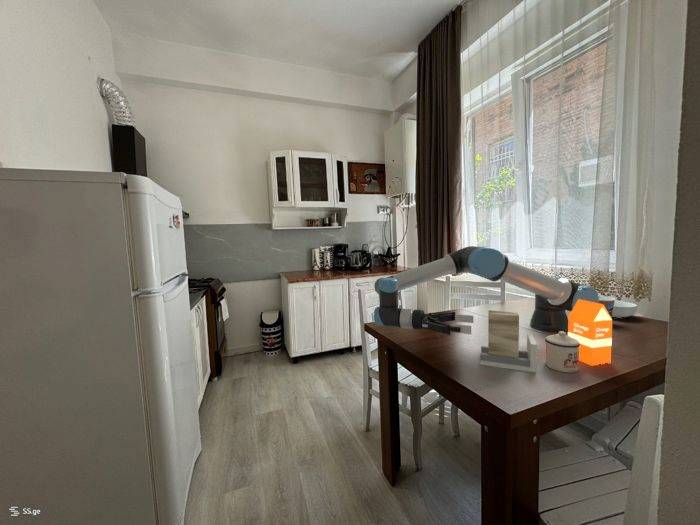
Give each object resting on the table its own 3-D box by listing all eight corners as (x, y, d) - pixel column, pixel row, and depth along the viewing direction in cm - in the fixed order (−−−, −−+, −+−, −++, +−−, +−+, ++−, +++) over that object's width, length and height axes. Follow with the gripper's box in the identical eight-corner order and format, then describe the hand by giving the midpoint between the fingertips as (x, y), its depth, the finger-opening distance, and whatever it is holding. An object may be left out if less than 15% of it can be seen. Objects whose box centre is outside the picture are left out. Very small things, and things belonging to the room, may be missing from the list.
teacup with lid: (568, 376, 88) (569, 338, 87) (538, 364, 97) (539, 330, 96) (590, 367, 94) (591, 332, 93) (559, 357, 102) (560, 324, 101)
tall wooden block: (488, 354, 104) (488, 310, 103) (517, 357, 100) (517, 312, 99) (488, 359, 100) (488, 313, 99) (518, 363, 96) (519, 315, 95)
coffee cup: (607, 327, 131) (608, 301, 130) (581, 321, 141) (582, 297, 140) (619, 323, 136) (620, 298, 135) (593, 318, 145) (594, 294, 144)
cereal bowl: (646, 320, 138) (647, 306, 138) (610, 321, 139) (611, 307, 138) (615, 311, 155) (615, 298, 155) (583, 312, 156) (583, 299, 155)
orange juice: (591, 365, 95) (593, 305, 93) (566, 355, 103) (568, 299, 102) (611, 363, 96) (613, 303, 94) (585, 352, 105) (587, 298, 103)
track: (480, 364, 98) (480, 338, 98) (481, 352, 108) (481, 328, 107) (536, 372, 91) (536, 344, 91) (531, 359, 101) (532, 333, 100)
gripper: (420, 320, 124) (474, 324, 115) (404, 339, 102) (470, 346, 93) (419, 302, 124) (474, 306, 114) (404, 318, 101) (470, 323, 92)
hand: (472, 324), depth 104 cm, fingers open, 13 cm apart
